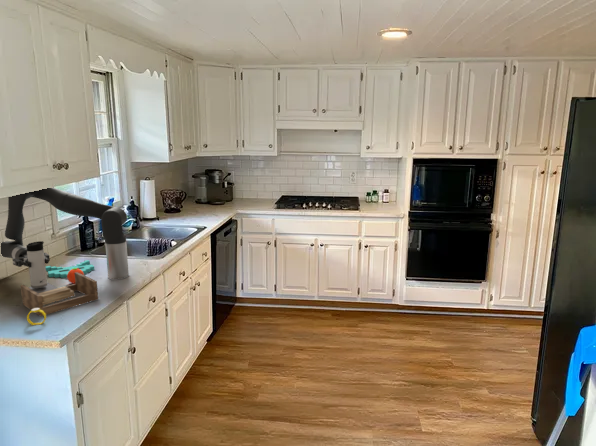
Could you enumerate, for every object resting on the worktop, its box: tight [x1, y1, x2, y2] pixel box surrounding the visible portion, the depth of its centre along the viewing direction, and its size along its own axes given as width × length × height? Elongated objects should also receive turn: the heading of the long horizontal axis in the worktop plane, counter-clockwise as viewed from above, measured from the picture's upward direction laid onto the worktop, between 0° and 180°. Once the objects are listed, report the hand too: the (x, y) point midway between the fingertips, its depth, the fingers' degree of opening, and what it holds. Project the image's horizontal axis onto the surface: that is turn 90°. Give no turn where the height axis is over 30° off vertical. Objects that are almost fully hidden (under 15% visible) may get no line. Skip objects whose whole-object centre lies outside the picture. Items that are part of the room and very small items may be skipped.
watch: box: [26, 308, 47, 326], centre depth 159 cm, size 6×3×6 cm, turn 104°
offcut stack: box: [39, 285, 76, 306], centre depth 182 cm, size 5×13×4 cm, turn 144°
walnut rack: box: [20, 272, 99, 317], centre depth 179 cm, size 18×22×8 cm
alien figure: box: [45, 259, 95, 280], centre depth 217 cm, size 20×2×20 cm
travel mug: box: [25, 241, 48, 288], centre depth 191 cm, size 6×7×20 cm
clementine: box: [66, 268, 85, 284], centre depth 201 cm, size 8×7×7 cm
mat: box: [27, 282, 58, 293], centre depth 193 cm, size 11×11×1 cm
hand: (38, 263), depth 189 cm, fingers closed on travel mug, 6 cm apart
